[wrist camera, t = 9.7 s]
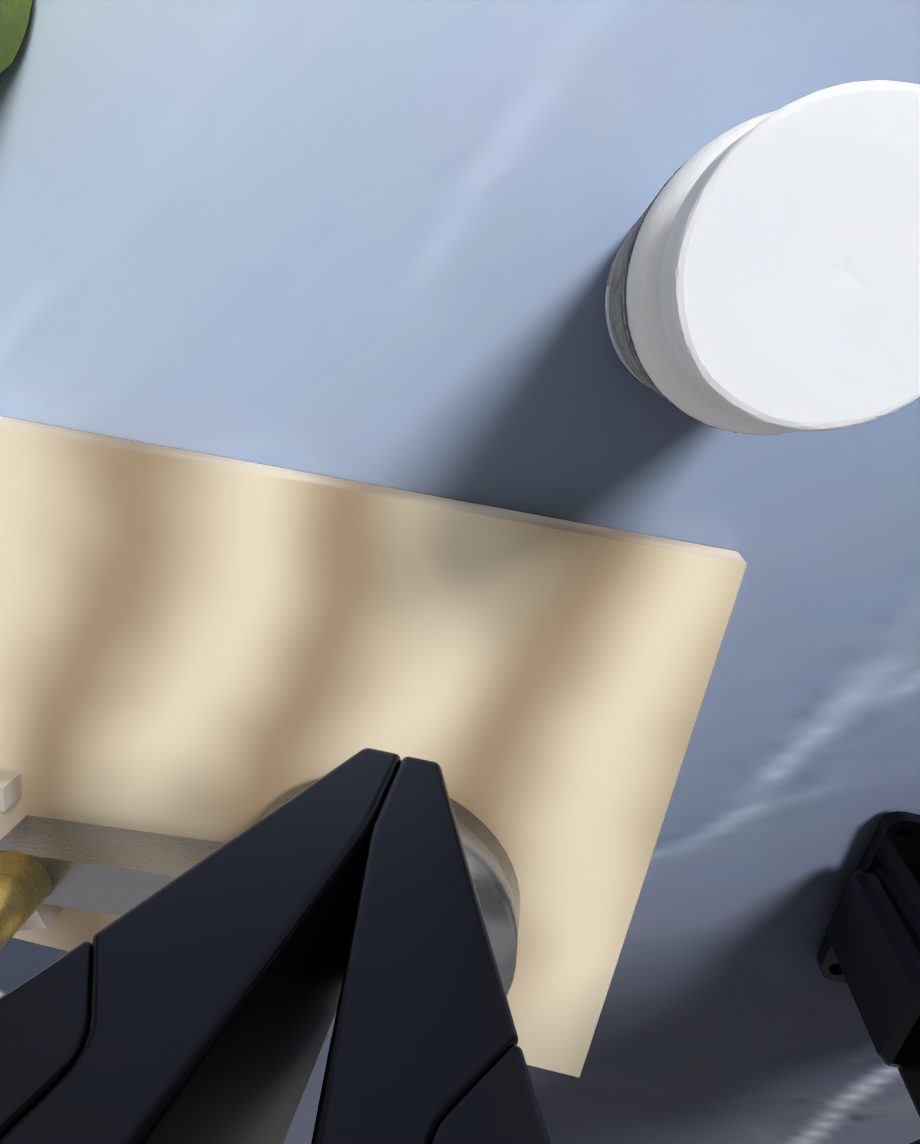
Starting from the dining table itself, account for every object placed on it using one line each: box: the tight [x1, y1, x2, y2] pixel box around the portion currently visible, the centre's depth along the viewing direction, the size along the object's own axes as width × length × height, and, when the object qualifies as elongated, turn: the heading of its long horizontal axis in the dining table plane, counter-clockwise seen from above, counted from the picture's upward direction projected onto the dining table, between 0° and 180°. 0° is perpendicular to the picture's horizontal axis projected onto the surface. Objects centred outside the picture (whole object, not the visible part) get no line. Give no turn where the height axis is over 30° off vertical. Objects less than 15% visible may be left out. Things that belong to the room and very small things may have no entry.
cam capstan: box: [0, 779, 520, 1037], centre depth 20 cm, size 17×9×6 cm, turn 87°
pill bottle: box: [605, 80, 920, 435], centre depth 12 cm, size 5×5×8 cm
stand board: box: [0, 416, 747, 1077], centre depth 22 cm, size 23×20×2 cm
